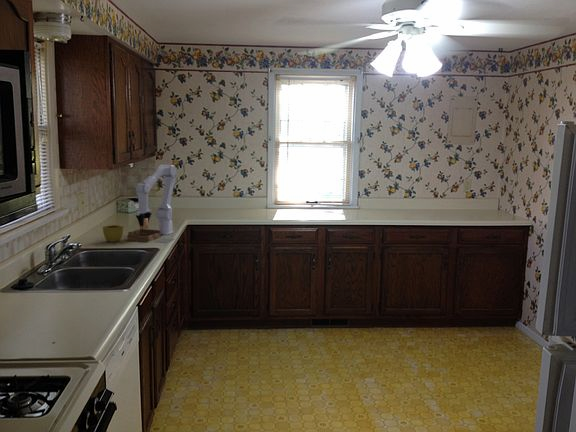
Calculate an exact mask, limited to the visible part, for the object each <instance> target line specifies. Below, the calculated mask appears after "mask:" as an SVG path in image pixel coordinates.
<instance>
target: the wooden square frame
mask: <svg viewBox="0 0 576 432" xmlns="http://www.w3.org/2000/svg"><path fill="white" fill-rule="evenodd" d="M127 233H128V234H127V235H126V237H127V238H126V240H127V241H133V242H134V241H135V242H143V241H144V242H145V243H149V241H150V242H152V241H156V240H159V239H162V234H161V230H159V229H151V228H150V229H149V228H147V229H140V228H138V229H134V230H131V231H129V232H127Z"/></svg>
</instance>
